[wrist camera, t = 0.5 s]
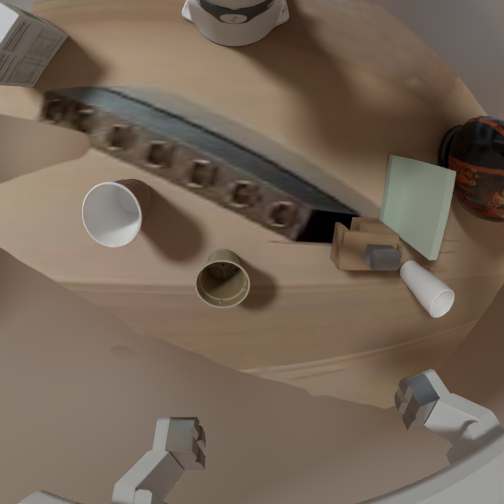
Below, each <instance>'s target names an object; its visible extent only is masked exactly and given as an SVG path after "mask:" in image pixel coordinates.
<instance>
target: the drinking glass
mask: <svg viewBox="0 0 504 504" xmlns="http://www.w3.org/2000/svg"><path fill="white" fill-rule="evenodd" d="M400 277H401V279H402V280H403V281H404V282H405V283H406V285H407V286H408V287H409V289H410V290H411V291H412V293H413V294H414V296H415V297H416V298H417V300H418V301H419V303H420V304H421V305H422V306H423V308H424V309H425V310H426V311H427V312H428V313H429V314H430V315H431V316H432V317H434V318H438V317H441V316H443V315H444V314H445V313H447V312H448V310H449V309H450V308H451V306H452V304H453V302H454V297H455V296H454V292H453V291H452V290H451V289H450V288H449V287H448V286H447V285H446V284H445V283H444V282H443V281H442V280H440V279H439V278H438V277H436V276H435V275H433V274H432V273H431V272H429V271H428V270H426V269H425V268H423V267H422V266H420V265H419V264H418V263H417V262H415V261H413V260H410V261H407V262H405V263H404V264H403V265H402V267H401V269H400Z"/></svg>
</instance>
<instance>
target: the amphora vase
mask: <svg viewBox="0 0 504 504" xmlns="http://www.w3.org/2000/svg"><path fill="white" fill-rule="evenodd" d="M439 166H440V167H443V168H446V169H450V170H453V171H456V177H455V183H454V188H453V193H454V194H455V195H456V197H457V199H458V200H459V202H460V203H461V205H462V206H463V207H464V208H465V209H466V210H467V211H469V212H470V213H471V214H473V215H474V216H476V217H478V218H481V219H484V220H488V221H491V222H504V121H503V120H500V119H497V118H493V117H489V116H479V117H475V118H472V119H470V120H468V121H467V122H465V123H464V124H463V125H458V126H454V127H453V128H451V129H450V130H449V131H448V132H447V133H446V135H445V136H444V138H443V140H442V143H441V145H440V150H439Z"/></svg>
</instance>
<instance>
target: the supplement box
mask: <svg viewBox="0 0 504 504" xmlns="http://www.w3.org/2000/svg"><path fill="white" fill-rule="evenodd" d="M67 37H68V35H67V34H65V33H64V32H63V31H61V30H60V29H58V28H57V27H55V26H54V25H52V24H51V23H49V22H48V21H46V20H45V19H43V18H42V17H40V16H37V15H35V14H32V13H30V12H27V11H25V10H22V9H20V8H17V7H15V6H12V5H9V4H6V3H4V2H1V1H0V85H7V86H22V87H34V86H35V84H36V82H37V81H38V79H39V78H40V76H41V74H42V73H43V71H44V70H45V68H46V67H47V65H48V64H49V62H50V61H51V59H52V58H53V56H54V55H55V54H56V52H57V51H58V49H59V48H60V47H61V45H62V44H63V43H64V41H65V40H66V39H67Z"/></svg>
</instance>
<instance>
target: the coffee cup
mask: <svg viewBox="0 0 504 504" xmlns="http://www.w3.org/2000/svg"><path fill="white" fill-rule="evenodd" d="M150 205H151V192H150V190H149V188H148V186H147V185H146V184H145V183H144V182H142V181H140V180H136V179H127V180H119V181H115V182H104V183H101V184H98V185H96V186H95V187H93V188H92V189H91V190H90V191H89V192H88V194H87V195H86V197H85V199H84V202H83V206H82V218H83V223H84V226H85V228H86V230H87V232H88V233H89V234H90V236H91V237H92V238H93V239H94V240H95V241H97V242H98V243H100V244H101V245H104V246H107V247H112V248H118V247H123V246H125V245H128V244H129V243H131V242H132V241H133V240H134V239H135V238H136V236H137V235H138V233H139V231H140V228H141V224H142V221H143V220H144V218H145V215H146V214H147V212H148V210H149V208H150ZM127 241H128V242H127Z"/></svg>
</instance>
